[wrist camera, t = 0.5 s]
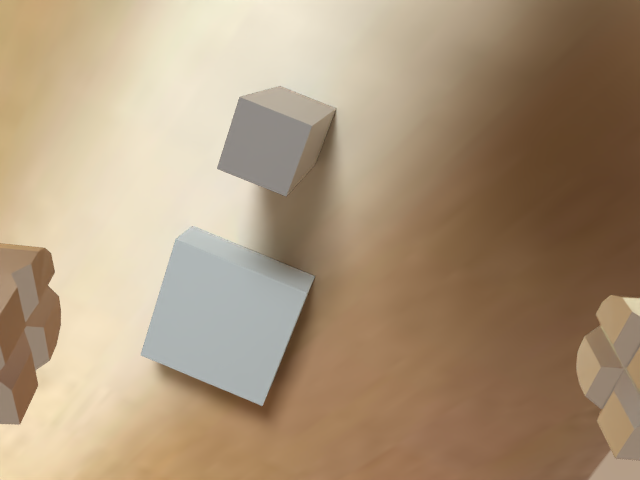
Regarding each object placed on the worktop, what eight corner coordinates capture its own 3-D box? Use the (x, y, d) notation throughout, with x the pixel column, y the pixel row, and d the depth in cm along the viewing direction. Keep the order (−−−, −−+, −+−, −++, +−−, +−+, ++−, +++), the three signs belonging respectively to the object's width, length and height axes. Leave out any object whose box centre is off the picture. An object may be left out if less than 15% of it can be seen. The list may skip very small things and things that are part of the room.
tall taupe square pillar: (280, 86, 50) (239, 96, 39) (336, 108, 50) (311, 125, 39) (261, 142, 52) (217, 168, 41) (315, 164, 52) (286, 196, 40)
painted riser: (192, 226, 55) (175, 239, 51) (315, 276, 55) (307, 292, 51) (158, 335, 59) (140, 355, 55) (272, 383, 59) (262, 406, 55)
